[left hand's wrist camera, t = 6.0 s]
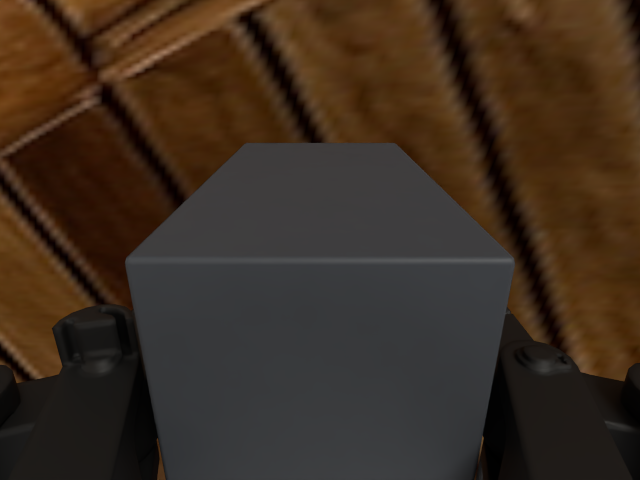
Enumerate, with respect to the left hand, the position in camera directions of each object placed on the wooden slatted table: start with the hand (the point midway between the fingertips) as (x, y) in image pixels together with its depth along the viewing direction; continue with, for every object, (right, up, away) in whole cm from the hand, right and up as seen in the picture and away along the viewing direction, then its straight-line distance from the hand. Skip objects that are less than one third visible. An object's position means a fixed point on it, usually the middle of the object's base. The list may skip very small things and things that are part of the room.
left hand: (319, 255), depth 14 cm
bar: (0, -7, +3) cm, 8 cm away
